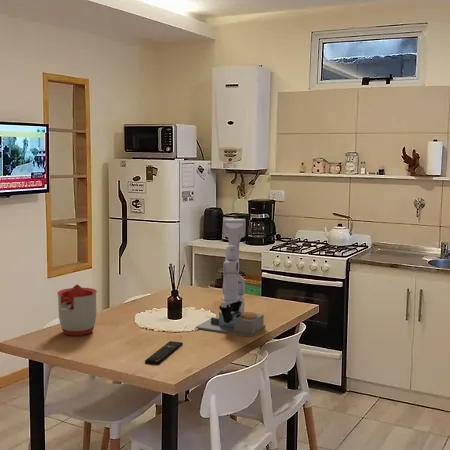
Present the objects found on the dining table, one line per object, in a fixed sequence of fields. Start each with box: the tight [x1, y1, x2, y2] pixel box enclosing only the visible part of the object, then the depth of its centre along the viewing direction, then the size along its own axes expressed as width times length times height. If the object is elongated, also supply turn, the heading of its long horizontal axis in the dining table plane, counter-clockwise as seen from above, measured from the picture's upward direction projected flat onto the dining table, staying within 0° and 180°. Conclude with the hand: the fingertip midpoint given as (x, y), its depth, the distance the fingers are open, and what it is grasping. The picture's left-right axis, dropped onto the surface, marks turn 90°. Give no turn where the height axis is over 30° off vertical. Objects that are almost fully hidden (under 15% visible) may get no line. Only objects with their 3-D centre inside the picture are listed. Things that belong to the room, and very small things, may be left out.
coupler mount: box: [195, 311, 266, 338], centre depth 263 cm, size 16×25×7 cm, turn 64°
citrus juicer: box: [57, 284, 98, 337], centre depth 253 cm, size 16×17×20 cm
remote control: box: [144, 341, 184, 366], centre depth 230 cm, size 5×24×1 cm, turn 163°
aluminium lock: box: [218, 310, 241, 328], centre depth 263 cm, size 5×8×7 cm, turn 65°
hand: (230, 320), depth 263 cm, fingers open, 7 cm apart
